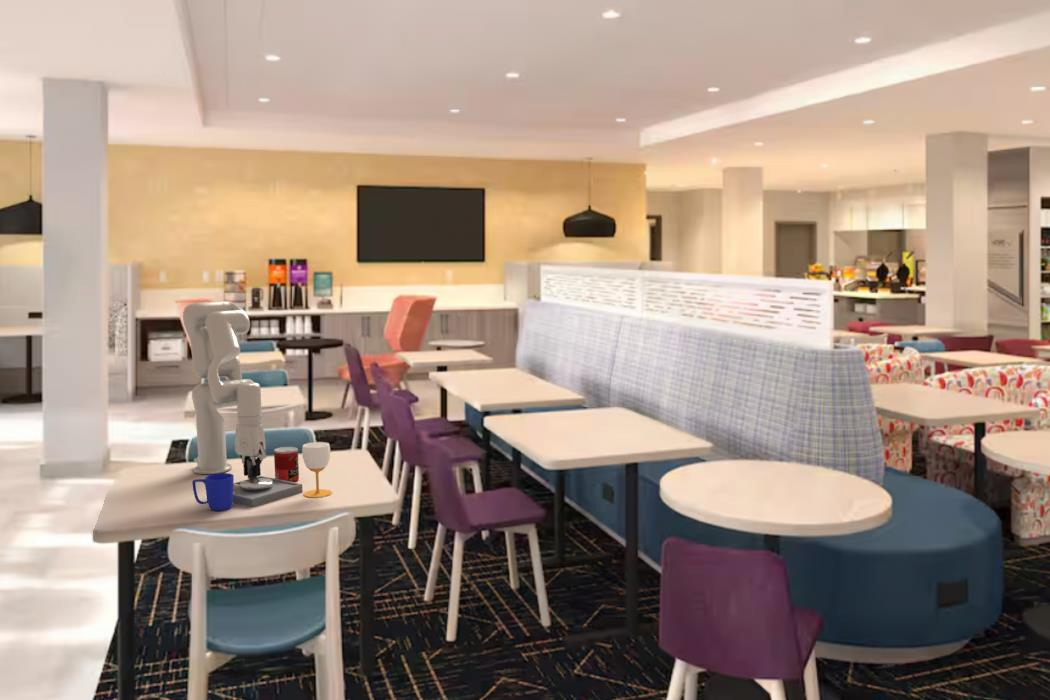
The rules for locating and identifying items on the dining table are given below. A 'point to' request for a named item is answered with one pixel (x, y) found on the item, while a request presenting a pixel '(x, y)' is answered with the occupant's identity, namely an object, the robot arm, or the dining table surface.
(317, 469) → the cup
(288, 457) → the canned food
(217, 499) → the mug
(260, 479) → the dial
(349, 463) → the dining table surface
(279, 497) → the tray
